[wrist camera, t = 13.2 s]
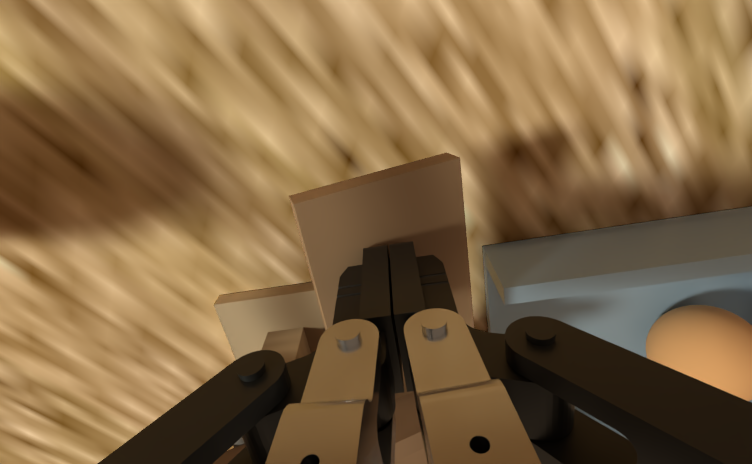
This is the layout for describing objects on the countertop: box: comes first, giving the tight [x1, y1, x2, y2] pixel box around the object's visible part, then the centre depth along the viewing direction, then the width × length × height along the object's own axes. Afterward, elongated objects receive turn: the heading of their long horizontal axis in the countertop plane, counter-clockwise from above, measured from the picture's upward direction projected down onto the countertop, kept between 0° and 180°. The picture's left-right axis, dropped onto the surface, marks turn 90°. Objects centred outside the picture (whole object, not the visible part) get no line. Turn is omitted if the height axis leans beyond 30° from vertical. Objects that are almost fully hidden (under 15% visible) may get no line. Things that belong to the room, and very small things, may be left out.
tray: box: [482, 206, 752, 439], centre depth 20 cm, size 11×14×4 cm
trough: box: [213, 153, 474, 464], centre depth 14 cm, size 17×16×4 cm
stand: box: [214, 282, 326, 363], centre depth 20 cm, size 6×10×6 cm, turn 10°
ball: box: [646, 305, 752, 401], centre depth 19 cm, size 4×4×4 cm
